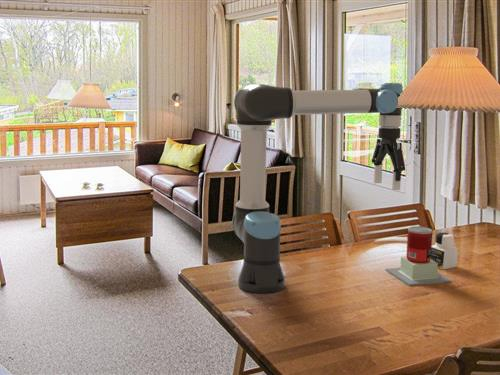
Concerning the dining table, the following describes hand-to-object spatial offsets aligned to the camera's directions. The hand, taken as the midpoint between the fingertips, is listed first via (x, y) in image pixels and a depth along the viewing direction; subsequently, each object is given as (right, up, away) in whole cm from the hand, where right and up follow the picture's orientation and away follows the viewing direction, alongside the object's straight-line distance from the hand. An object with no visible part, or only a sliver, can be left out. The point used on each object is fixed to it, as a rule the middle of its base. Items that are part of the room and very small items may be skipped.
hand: (386, 186), depth 210 cm
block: (+9, -30, -9) cm, 33 cm away
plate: (+9, -31, -9) cm, 33 cm away
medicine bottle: (+21, -29, +3) cm, 36 cm away
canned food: (+9, -26, -10) cm, 29 cm away
